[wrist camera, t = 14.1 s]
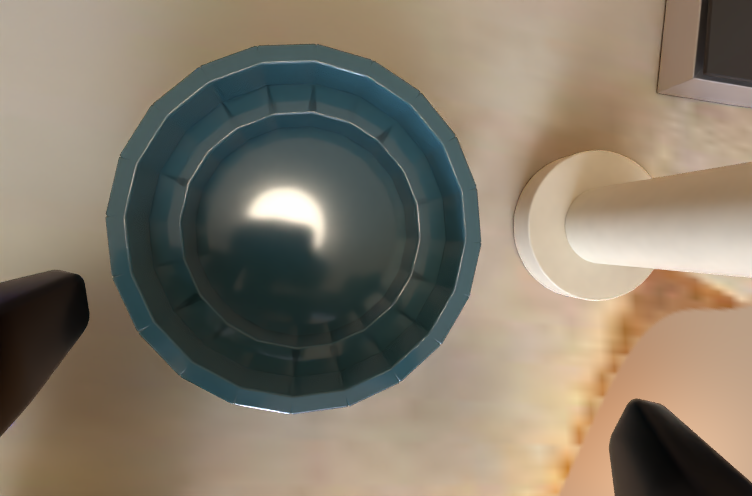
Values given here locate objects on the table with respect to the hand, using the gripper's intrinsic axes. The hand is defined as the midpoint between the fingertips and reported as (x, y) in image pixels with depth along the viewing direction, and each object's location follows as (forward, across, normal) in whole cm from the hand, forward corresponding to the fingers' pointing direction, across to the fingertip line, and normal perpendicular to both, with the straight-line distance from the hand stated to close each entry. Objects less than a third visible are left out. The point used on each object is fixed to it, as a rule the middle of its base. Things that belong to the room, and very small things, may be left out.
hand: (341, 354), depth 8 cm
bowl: (+12, +4, +4) cm, 13 cm away
